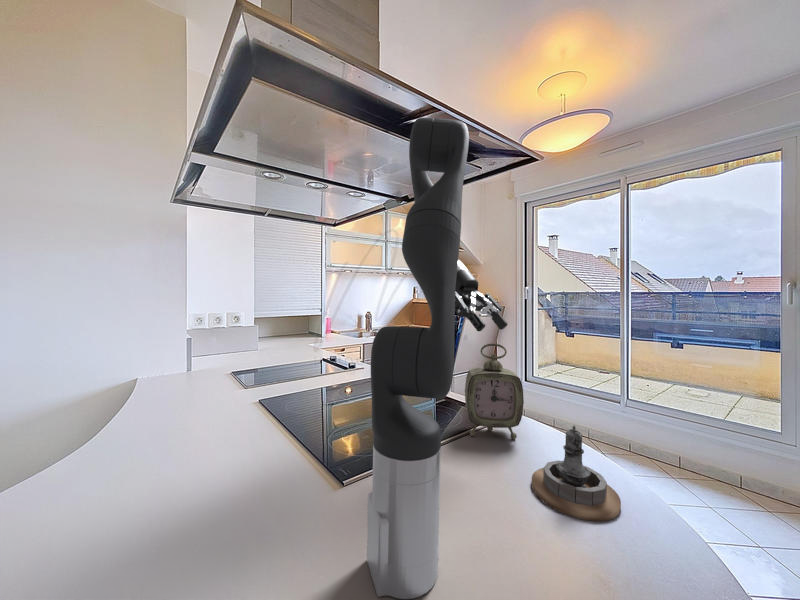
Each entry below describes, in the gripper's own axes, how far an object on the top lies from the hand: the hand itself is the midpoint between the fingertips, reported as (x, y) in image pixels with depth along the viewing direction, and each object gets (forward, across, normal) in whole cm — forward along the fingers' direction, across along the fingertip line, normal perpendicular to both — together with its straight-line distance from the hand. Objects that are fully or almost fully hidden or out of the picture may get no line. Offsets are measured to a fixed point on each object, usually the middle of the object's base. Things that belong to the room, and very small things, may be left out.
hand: (493, 328), depth 72 cm
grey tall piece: (+33, +3, +9) cm, 34 cm away
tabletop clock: (+15, +14, +28) cm, 35 cm away
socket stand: (+34, +3, +10) cm, 35 cm away
